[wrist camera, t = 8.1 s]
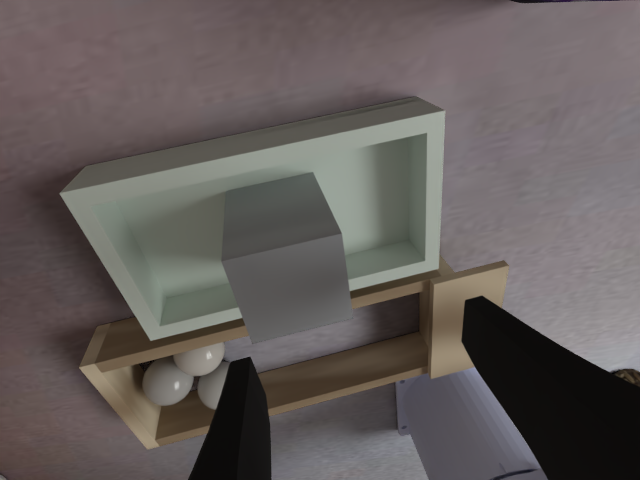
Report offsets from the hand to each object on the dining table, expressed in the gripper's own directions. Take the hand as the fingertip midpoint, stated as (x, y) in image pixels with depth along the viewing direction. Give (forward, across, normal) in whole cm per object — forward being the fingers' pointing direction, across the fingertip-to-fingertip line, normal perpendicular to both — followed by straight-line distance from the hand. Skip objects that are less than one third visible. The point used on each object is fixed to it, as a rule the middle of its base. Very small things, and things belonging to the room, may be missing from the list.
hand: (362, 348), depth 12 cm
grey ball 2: (+10, +8, +10) cm, 17 cm away
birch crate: (+10, +2, +9) cm, 13 cm away
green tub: (+10, +2, -1) cm, 10 cm away
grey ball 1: (+10, +11, +9) cm, 17 cm away
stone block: (+9, +2, 0) cm, 9 cm away
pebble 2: (+10, +8, +7) cm, 15 cm away
